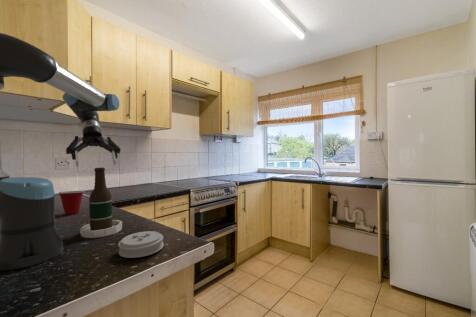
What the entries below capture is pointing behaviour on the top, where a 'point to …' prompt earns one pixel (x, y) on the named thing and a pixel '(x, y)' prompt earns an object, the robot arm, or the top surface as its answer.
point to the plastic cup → (71, 201)
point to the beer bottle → (100, 203)
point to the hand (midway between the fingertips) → (97, 163)
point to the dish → (114, 229)
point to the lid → (140, 244)
